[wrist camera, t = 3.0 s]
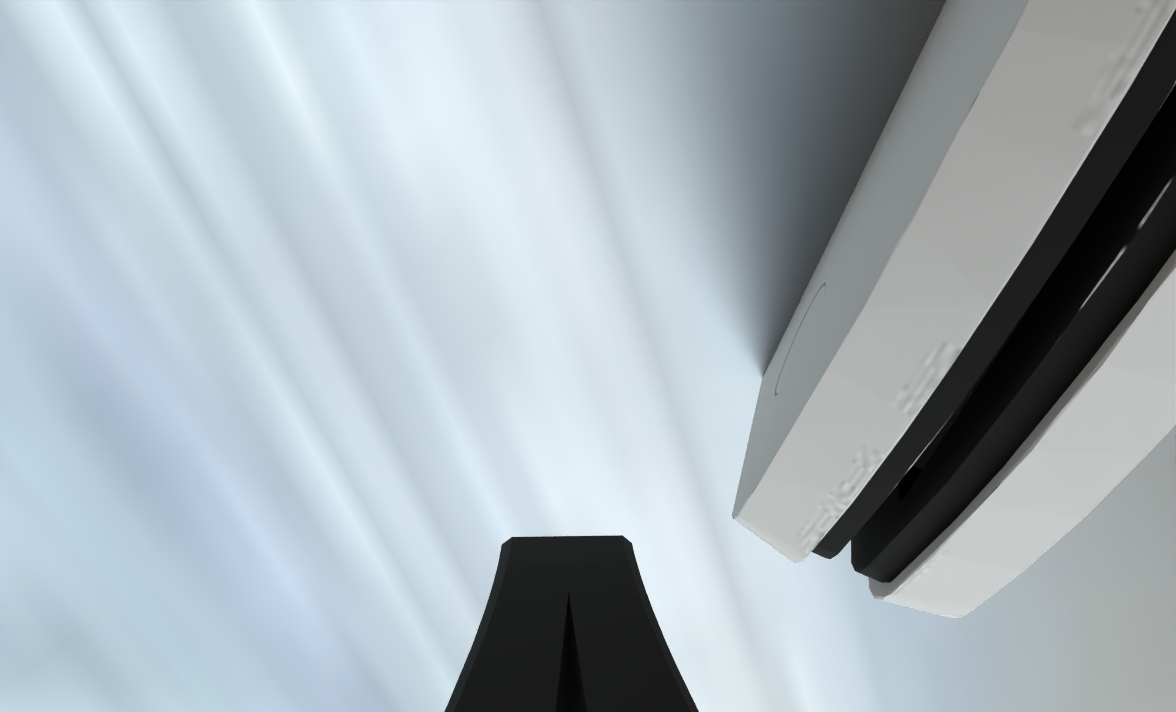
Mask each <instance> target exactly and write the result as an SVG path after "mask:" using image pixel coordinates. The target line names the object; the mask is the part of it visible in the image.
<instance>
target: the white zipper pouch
mask: <svg viewBox="0 0 1176 712" xmlns="http://www.w3.org/2000/svg"><path fill="white" fill-rule="evenodd" d="M1175 425H1176V0H946V2H945V4H944V6H943V8H942V10H941V12H940V14H939V16H938V18H937V20H936V22H935V24H934V26H933V29H932V31H931V33H930V35H929V37H928V39H927V41H926V43H925V45H924V47H923V49H922V51H921V53H920V55H919V57H918V59H917V61H916V63H915V66H914V68H913V70H912V72H911V74H910V76H909V78H908V80H907V82H906V84H905V86H904V88H903V90H902V92H901V94H900V96H899V98H898V100H897V103H896V105H895V107H894V109H893V111H892V113H891V115H890V117H889V119H888V121H887V123H886V125H885V127H884V129H883V131H882V133H881V135H880V137H879V140H878V142H877V144H876V146H875V148H874V150H873V152H872V154H871V156H870V158H869V160H868V162H867V164H866V166H865V168H864V170H863V172H862V174H861V177H860V179H859V181H858V183H857V185H856V187H855V189H854V191H853V193H852V195H851V197H850V199H849V201H848V203H847V205H846V207H845V209H844V211H843V214H842V216H841V218H840V220H839V222H838V224H837V226H836V228H835V230H834V232H833V234H832V236H831V238H830V240H829V242H828V244H827V246H826V248H825V251H824V253H823V255H822V257H821V259H820V261H819V263H818V265H817V267H816V269H815V271H814V273H813V275H812V277H811V279H810V281H809V283H808V285H807V288H806V290H805V292H804V294H803V296H802V298H801V300H800V302H799V304H798V306H797V308H796V310H795V312H794V314H793V316H792V318H791V320H790V322H789V325H788V327H787V329H786V331H785V333H784V335H783V337H782V339H781V341H780V343H779V345H778V347H777V349H776V351H775V353H774V355H773V357H772V359H771V362H770V364H769V366H768V368H767V370H766V372H765V374H764V376H763V378H762V382H761V387H760V391H759V396H758V400H757V405H756V409H755V414H754V418H753V423H752V427H751V432H750V436H749V441H748V446H747V450H746V455H745V459H744V464H743V468H742V473H741V477H740V482H739V486H738V491H737V495H736V500H735V504H734V509H733V513H732V516H733V519H734V520H735V521H737V522H738V523H740V524H741V525H742V526H744V527H745V528H747V529H748V530H749V531H751V532H752V533H754V534H755V535H756V536H758V537H759V538H761V539H762V540H763V541H765V542H766V543H767V544H769V545H770V546H772V547H773V548H774V549H776V550H777V551H779V552H780V553H781V554H783V555H784V556H786V557H787V558H788V559H790V560H791V561H793V562H794V563H799V562H802V561H804V560H805V559H806V557H807V556H808V555H809V554H810V553H811V552H813V553H815V554H818V555H820V556H822V557H824V558H828V559H831V558H833V557H834V556H836V555H838V554H839V552H840V551H841V550H842V549H843V548H844V547H845V546H846V544H847V543H848V542H849V541H850V540H851V564H852V566H853V568H854V570H855V571H856V572H859V573H861V574H863V575H865V576H867V577H869V588H870V590H871V592H872V594H873V596H874V598H875V599H878V600H882V601H886V602H890V603H894V604H898V605H902V606H906V607H910V608H914V609H918V610H922V611H926V612H930V613H934V614H938V615H942V616H946V617H950V618H960V617H963V616H965V615H967V614H968V613H970V612H971V611H972V610H974V609H975V608H977V607H978V606H979V605H980V604H982V603H983V602H984V601H986V600H987V599H988V598H990V597H991V596H992V595H993V594H995V593H996V592H997V591H999V590H1000V589H1001V588H1002V587H1004V586H1005V585H1006V584H1008V583H1009V582H1010V581H1012V580H1013V579H1014V578H1015V577H1017V576H1018V575H1019V574H1021V573H1022V572H1023V571H1024V570H1025V569H1027V568H1028V567H1029V566H1030V565H1031V564H1032V563H1033V562H1035V561H1036V560H1037V559H1038V558H1039V557H1040V556H1041V555H1043V554H1044V553H1045V552H1046V551H1047V550H1048V549H1049V548H1050V547H1052V546H1053V545H1054V544H1055V543H1056V542H1057V541H1058V540H1060V539H1061V538H1062V537H1063V536H1064V535H1065V534H1066V533H1068V532H1069V531H1070V530H1071V529H1072V528H1073V527H1074V526H1075V525H1077V524H1078V523H1079V522H1080V521H1081V520H1082V519H1083V518H1085V517H1086V516H1087V515H1088V514H1089V513H1090V512H1091V511H1092V510H1093V509H1094V507H1095V506H1096V505H1097V504H1098V503H1099V502H1100V501H1101V500H1102V499H1103V498H1104V497H1105V496H1106V495H1107V494H1108V493H1109V492H1110V491H1111V490H1112V489H1113V488H1114V487H1115V486H1116V485H1117V484H1118V483H1119V482H1120V481H1121V480H1122V479H1123V478H1124V477H1125V476H1126V475H1127V474H1128V473H1129V472H1130V471H1131V470H1132V469H1133V468H1134V467H1135V466H1136V465H1137V464H1138V463H1139V462H1140V461H1141V460H1142V459H1143V458H1144V457H1145V456H1146V455H1147V454H1148V453H1149V452H1150V451H1151V450H1152V449H1153V448H1154V447H1155V446H1156V445H1157V444H1158V443H1159V442H1160V441H1161V439H1162V438H1163V437H1164V436H1165V435H1166V434H1167V433H1168V432H1169V431H1170V430H1171V429H1172V428H1173V427H1174V426H1175Z"/></svg>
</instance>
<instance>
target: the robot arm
mask: <svg viewBox="0 0 1176 712" xmlns="http://www.w3.org/2000/svg"><path fill="white" fill-rule="evenodd" d="M445 712H699V711H698V709H697V707H696V705H695V703H694V701H693V699H692V697H691V695H690V693H689V690H688V688H687V686H686V684H685V682H684V680H683V678H682V676H681V674H680V672H679V670H678V668H677V666H676V664H675V661H674V659H673V657H672V655H671V652H670V650H669V648H668V646H667V643H666V641H665V639H664V636H663V634H662V631H661V629H660V626H659V624H658V621H657V619H656V617H655V614H654V612H653V609H652V607H651V604H650V601H649V598H648V596H647V593H646V590H645V587H644V584H643V581H642V578H641V575H640V572H639V569H638V565H637V562H636V559H635V555H634V551H633V546H632V543H631V542H630V541H629V540H627V539H626V538H625V537H624V536H554V537H511V538H510V539H509V540H507V541H506V542H505V543H504V544H502V547H501V552H500V558H499V563H498V567H497V571H496V575H495V579H494V582H493V586H492V589H491V593H490V596H489V599H488V602H487V605H486V608H485V612H484V614H483V617H482V620H481V623H480V625H479V628H478V631H477V634H476V637H475V639H474V642H473V645H472V647H471V650H470V652H469V655H468V657H467V659H466V662H465V664H464V667H463V669H462V672H461V674H460V676H459V679H458V681H457V684H456V686H455V688H454V691H453V693H452V696H451V698H450V700H449V703H448V705H447V707H446V710H445Z"/></svg>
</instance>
